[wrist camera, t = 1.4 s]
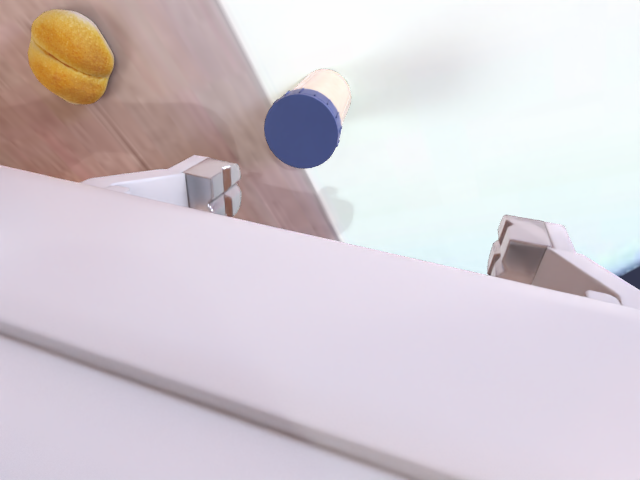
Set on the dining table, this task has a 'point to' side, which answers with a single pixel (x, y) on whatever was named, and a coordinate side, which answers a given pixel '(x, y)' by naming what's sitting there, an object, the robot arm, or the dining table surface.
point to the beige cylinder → (329, 88)
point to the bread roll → (70, 56)
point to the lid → (303, 128)
